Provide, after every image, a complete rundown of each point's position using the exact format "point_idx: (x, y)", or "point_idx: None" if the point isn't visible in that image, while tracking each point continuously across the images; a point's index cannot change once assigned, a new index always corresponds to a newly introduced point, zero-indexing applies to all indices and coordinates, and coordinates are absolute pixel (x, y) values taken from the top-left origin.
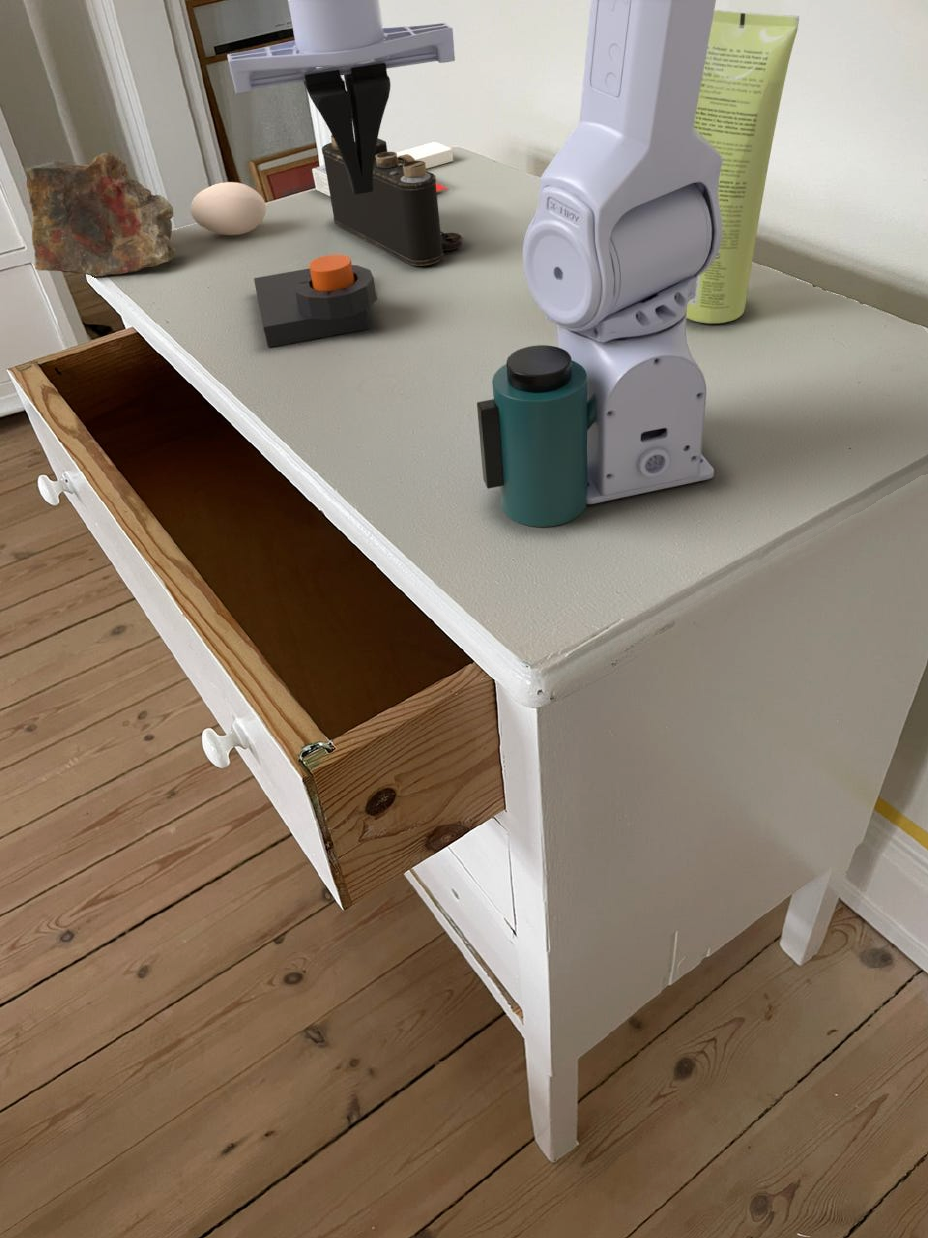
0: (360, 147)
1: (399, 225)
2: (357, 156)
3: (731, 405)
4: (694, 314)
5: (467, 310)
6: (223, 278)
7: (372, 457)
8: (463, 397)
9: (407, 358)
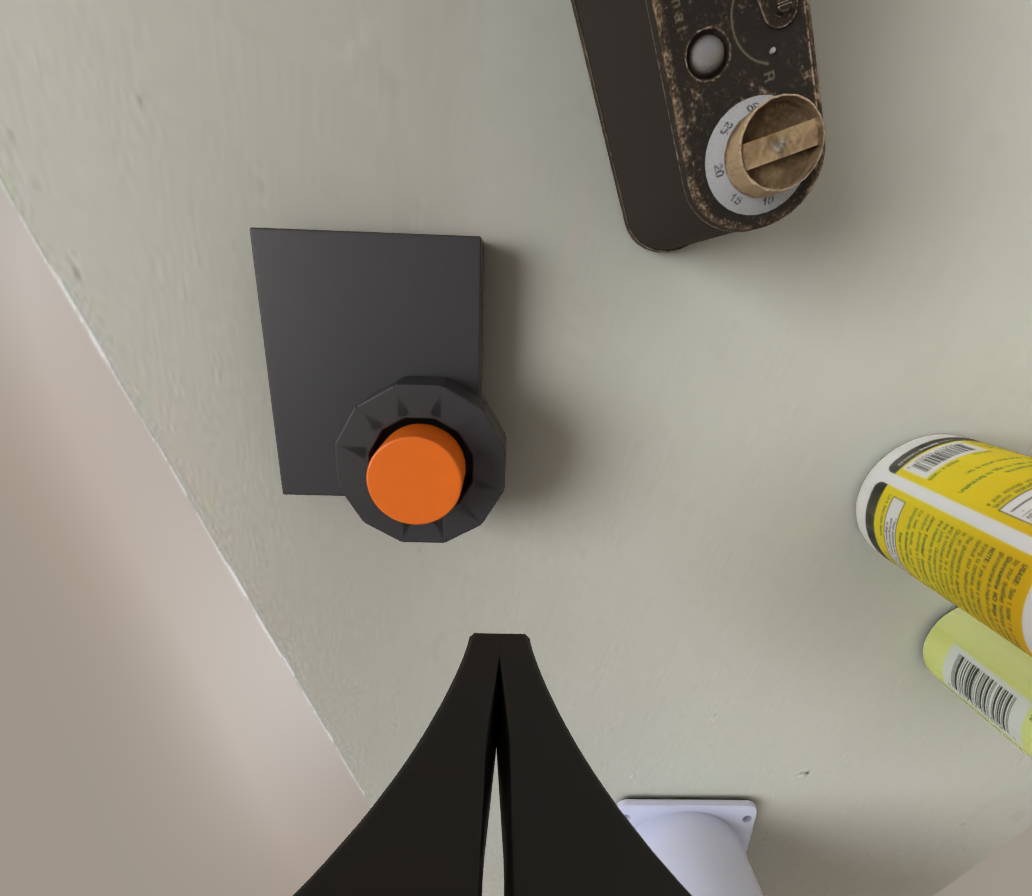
0: (503, 843)
1: (641, 179)
2: (502, 716)
3: (822, 818)
4: (932, 670)
5: (656, 484)
6: (171, 49)
7: None
8: (560, 714)
9: (517, 598)
